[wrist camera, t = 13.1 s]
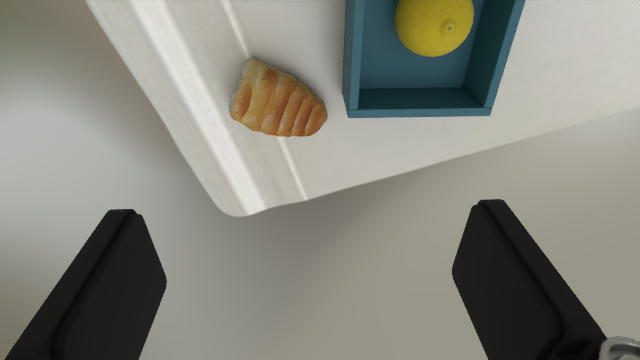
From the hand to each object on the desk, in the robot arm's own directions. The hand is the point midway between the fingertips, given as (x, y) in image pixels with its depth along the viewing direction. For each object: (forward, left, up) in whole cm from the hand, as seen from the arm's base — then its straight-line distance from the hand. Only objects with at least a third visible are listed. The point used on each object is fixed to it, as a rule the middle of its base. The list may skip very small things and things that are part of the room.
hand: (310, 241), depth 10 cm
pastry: (+6, -3, -26) cm, 27 cm away
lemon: (-2, +10, -26) cm, 28 cm away
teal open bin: (-2, +10, -26) cm, 28 cm away
